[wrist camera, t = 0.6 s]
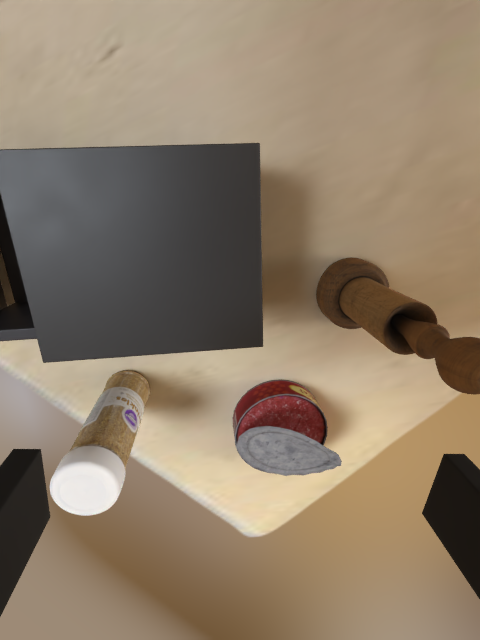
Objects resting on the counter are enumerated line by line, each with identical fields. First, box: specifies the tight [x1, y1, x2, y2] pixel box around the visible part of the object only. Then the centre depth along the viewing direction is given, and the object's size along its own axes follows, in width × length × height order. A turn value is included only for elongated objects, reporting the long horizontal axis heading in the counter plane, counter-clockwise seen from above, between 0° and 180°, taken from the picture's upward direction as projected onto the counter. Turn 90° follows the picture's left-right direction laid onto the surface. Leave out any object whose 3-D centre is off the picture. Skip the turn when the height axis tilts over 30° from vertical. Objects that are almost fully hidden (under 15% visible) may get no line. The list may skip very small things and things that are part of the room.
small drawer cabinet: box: [0, 143, 263, 363], centre depth 25 cm, size 15×13×11 cm
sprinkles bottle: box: [50, 371, 150, 516], centre depth 28 cm, size 5×5×14 cm
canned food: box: [233, 380, 342, 476], centre depth 35 cm, size 11×10×10 cm
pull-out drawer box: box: [0, 194, 37, 341], centre depth 25 cm, size 15×11×9 cm
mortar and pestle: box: [316, 258, 480, 394], centre depth 25 cm, size 7×6×18 cm
